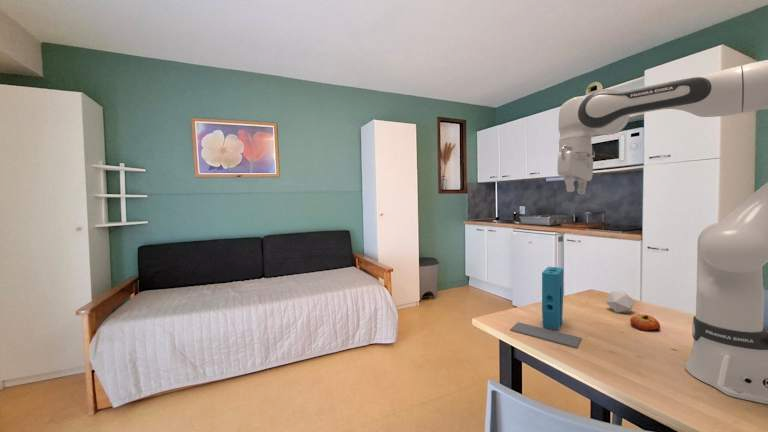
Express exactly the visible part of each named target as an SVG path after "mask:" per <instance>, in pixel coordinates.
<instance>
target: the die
mask: <svg viewBox="0 0 768 432" xmlns="http://www.w3.org/2000/svg"><path fill="white" fill-rule="evenodd" d="M605 303H606V305H608V306H609V307H610V308H611V309H612V310H613V311H614V312H615V313H616V314H619V313H623V314H624V313H630V312H631V310H632V309H633V307H634V304H635V303H636V301H635V300H634V299H633V297H632V296H630V295H629V294H628V293H626V291H624V290H623V291H621V290H620V291H611V292H610V293H609V295H608V297H607V299H606V301H605Z"/></svg>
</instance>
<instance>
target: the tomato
mask: <svg viewBox="0 0 768 432" xmlns="http://www.w3.org/2000/svg"><path fill="white" fill-rule="evenodd" d="M629 322H630V324H631V325H632V326H634V327H635V329H637V330H638V331H648V330H652V331H654V330H656V329H658V331H660V330H661V324H660V323H659V321H658V320H657V319H656V318H655V317H653V316H651V315H648V314H643V313H642V314H641V313H637V314H635V315H633V316H631V317H630V320H629Z"/></svg>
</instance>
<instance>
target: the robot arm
mask: <svg viewBox="0 0 768 432" xmlns="http://www.w3.org/2000/svg"><path fill="white" fill-rule="evenodd" d="M660 110H678V111H684V112H686V113H688V114H692V115H694V116H697V117H700V118H716V117H726V116H727V117H728V116H735V115H738V114H739V115H740V114H744V113H751V112H756V111H763V110H768V59H765V60H760V61H754V62H750V63H747V64H741V65H738V66H733V67H730V68H726V69H722V70H717V71H714V72H710V73H706V74H702V75H698V76H692V77H689V78H684V79H683V78H682V79H678V80H671V81H667V82H662V83H656V84H651V85H646V86H642V87H637V88H632V89H625V90H617V89H616V90H615V89H614V90H613V89H599V90H595V91H593V92H592V93H590V94H588V95H587V96H585V95H580V96H575V97H572V98H570V99H568V100H567V101H564V102H563V104H562V105H561V106H560V109H559V112H558V132H559V135H560V136H559V140H558V148H559V149H558V155H557V167H556V168H557V175H558V176H559V177H563V178H564V183H565V186H566V191H567V192H568V193H573V192H575V187H576V186H575V185H574V181H577V186H578V187H577V190H576V191H577V194H579V195H585V194H586V188H587V187H586V186H587V182H588V181H589V182H590V181H592V179H593V175H594V173H593V172H594V159H593V158H595V157H596V156H595V155H596V154H595V153H596V152H595V150H594V148H593V144H592V137H593V136H609V135H615V134H617V133H619V132H621V131H622V130H624V129H625V128H626V126H627V125H628V124H629V121H630V115H637V114H643V113H649V112H655V111H660ZM696 250H697V253H696V254H697V255H696V256H697V257H696V292H695V293H696V296H695V297H696V298H695V315H694V316H693V319H692V325H691V327H692V328H691V329H692V332H691V335H692V338H693V342H692V347H691V351H690V355H689V358H688V360H687V362H686V364H685V370H686V371H687V372H688V373H689V375H691V376H692V377H694V378H696V379H698V380H699V381H701V382H703V383H705V384H708V385H710V386H712V387H714V388H715V389H716V390H718V391H720V392H721V393H723V394H725V395H727V396H730V397H733V398H735V399H741V400H745V401H746V400H747V401H750V402H756V403H760V404H764V405H768V329H765V328H764V315H765V314H764V313H765V312H764V311H765V293H764V292H765V290H764V279H763V278H764V277H763V267H764V266H765V265H766V264H767V263H768V181H767V182H765V184H763V185H762V186H761V187H760V188H758V189H757V190H755V191H754V192H753V193H752V194H751V195H749V196H748V197H747V198H746V199H744V201H743V202H742V203H740V204H739V205H738V206H737V207H735V208H734V209H733V211H731V212H729V214H728V215H726V216H725V217H724V218H722V219H721V220H720V221H719V222H716V223H713V224H710V225H708V226H707V227H705V228H703V229H702V230H701V232H700V233H699V235H698V237H697V249H696Z"/></svg>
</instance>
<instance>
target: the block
mask: <svg viewBox="0 0 768 432" xmlns="http://www.w3.org/2000/svg"><path fill="white" fill-rule="evenodd" d="M541 273H542V274H541V299H542V300H541V315H542V328H544V329H548V330H552V331H559V330H560V328H561V326H562V325H563V313H564V312H563V310H564V268H563V267H556V266H547V267H546V268H545V269H544V270H543V271H542V272H541Z"/></svg>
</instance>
